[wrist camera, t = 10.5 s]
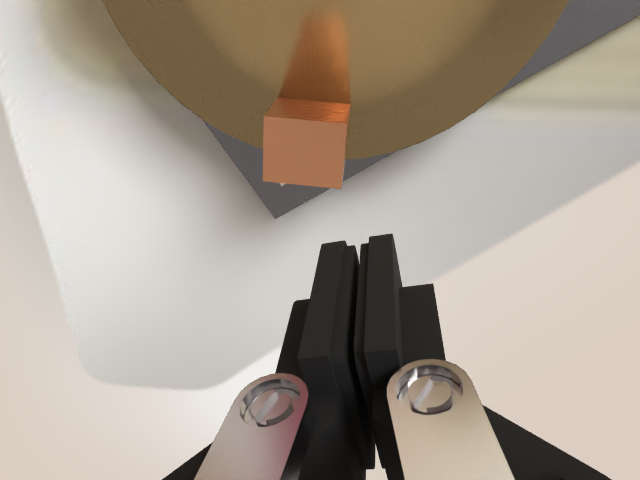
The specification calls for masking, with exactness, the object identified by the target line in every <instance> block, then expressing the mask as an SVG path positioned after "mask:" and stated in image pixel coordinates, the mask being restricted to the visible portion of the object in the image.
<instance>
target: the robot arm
mask: <svg viewBox="0 0 640 480" xmlns="http://www.w3.org/2000/svg"><path fill="white" fill-rule="evenodd" d="M375 443H376V447H377V451H378V455H379V459H380V463H381V466H382V468H385V470H386V474H387V478H388V480H611V479H609V478H608V477H607V476H605V475H604V474H602V473H600V472H598V471H597V470H595V469H593V468H591V467H590V466H588V465H586V464H585V463H583V462H581V461H579V460H578V459H576V458H574V457H572V456H571V455H569V454H567V453H565V452H563V451H562V450H560V449H558V448H557V447H555V446H553V445H551V444H550V443H548V442H546V441H544V440H543V439H541V438H539V437H537V436H536V435H534V434H532V433H531V432H529V431H527V430H525V429H523V428H522V427H520V426H518V425H517V424H515V423H513V422H511V421H510V420H508V419H506V418H504V417H503V416H501V415H499V414H497V413H496V412H493V411H492V410H490V409H489V408H487V407H485V406H483V405H482V404H481V401H480V399H479V397H478V395H477V392H476V390H475V388H474V385H473V383H472V381H471V379H470V378H469V376H468V375H467V373H466V372H465V371H464V370H462V369H461V368H460V367H459V366H457V365H456V364H453V363H450V362H448V361H446V359H445V354H444V347H443V341H442V335H441V329H440V323H439V317H438V311H437V305H436V298H435V293H434V286H433V284H425V285H417V286H409V287H402V282H401V276H400V271H399V265H398V260H397V254H396V249H395V243H394V238H393V234H386V235H379V236H372V237H369V243H366V244H361V251H360V265H359V260H358V256H357V251H356V248H355V245H352V246H347V244H346V242H345V241H338V242H331V243H325V244H322V245H321V249H320V254H319V259H318V264H317V268H316V273H315V278H314V282H313V287H312V292H311V296H310V299H305V300H297V301H295V302H294V304H293V307H292V311H291V315H290V319H289V323H288V326H287V330H286V334H285V338H284V342H283V346H282V350H281V353H280V357H279V361H278V365H277V369H276V373H275V374H270V375H267V376H264V377H261V378H259V379H257V380H255V381H253V382H252V383H250V384H249V385H247V386H246V387H245V388H244V389H243V390H242V391H241V392H240V393H239V395H238V396H237V397H236V399H235V400H234V402H233V404H232V406H231V408H230V410H229V412H228V414H227V416H226V418H225V420H224V422H223V424H222V426H221V428H220V430H219V432H218V434H217V435H216V437H215V439H214V441H213V442H212V443H211V444H210V445H209V446H207V447H206V448H204V449H203V450H202V451H200V452H199V453H198V454H196V455H195V456H194V457H192V458H191V459H189V460H188V461H187V462H185V463H184V464H183V465H181V466H180V467H179V468H177V469H176V470H174V471H173V472H172V473H171V474H169V475H168V476H166V477H165V478H164V479H162V480H365V479H366V469H374V468H375Z"/></svg>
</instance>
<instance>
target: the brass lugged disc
mask: <svg viewBox="0 0 640 480" xmlns="http://www.w3.org/2000/svg"><path fill="white" fill-rule="evenodd" d="M102 1H103V3H104V5H105V7H106V8H107V10H108V12H109V14H110V16H111V18H112V19H113V21H114V23H115V25H116V27H117V29H118V30H119V32H120V33H121V35H122V36H123V38H124V39H125V40H126V42H127V43H128V45H129V46H130V48H131V49H132V51H133V52H134V54H135V55H136V56H137V58H138V59H139V60H140V61H141V62H142V64H143V65H144V66H145V67H146V68H147V69H148V71H149V72H150V73H151V74H152V75H153V76H154V78H155V79H156V80H157V81H158V82H159V83H160V84H161V85H162V86H163V87H164V88H165V89H166V90H167V91H168V92H169V93H170V94H172V95H173V96H174V97H175V98H176V99H177V100H178V101H179V102H180V103H181V104H183V105H184V106H185V107H187V108H188V109H189V110H191V111H192V112H193V113H195V114H196V115H197V116H199V117H200V118H201V119H203V120H204V121H205V122H207V123H209V124H211V125H212V126H214V127H216V128H217V129H219V130H221V131H223V132H224V133H226V134H228V135H230V136H232V137H234V138H236V139H239V140H241V141H243V142H246V143H248V144H250V145H253V146H255V147H258V148H261V149H263V181H266V182H276V183H286V184H296V185H306V186H316V187H326V188H335V189H341V186H342V180H343V173H344V167H345V160H347V159H358V158H367V157H372V156H377V155H381V154H386V153H390V152H395V151H397V150H400V149H403V148H406V147H409V146H412V145H415V144H417V143H420V142H423V141H425V140H427V139H429V138H431V137H433V136H435V135H437V134H439V133H441V132H443V131H445V130H447V129H449V128H451V127H452V126H454V125H455V124H457V123H458V122H460V121H461V120H463V119H464V118H466V117H467V116H469V115H470V114H472V113H474V112H475V111H476V110H478V109H479V108H480V107H481V106H482V105H484V104H485V103H486V102H487V101H488V100H490V99H491V98H492V97H493V96H495V95H496V94H497V93H498V92H499V91H501V90H502V89H503V88H504V87H505V86H506V84H507V83H508V82H509V81H510V80H511V79H512V78H513V77H514V76H515V75H516V74H517V73H518V72H519V71H520V70H521V69H522V68H523V67H524V66H525V65H526V63H527V62H528V61H529V60H530V58H531V57H532V56H533V54H534V53H535V52H536V50H537V49H538V48H539V47H540V45H541V44H542V43H543V41H544V40H545V39H546V37H547V36H548V35H549V33H550V31H551V30H552V28H553V27H554V25H555V23H556V22H557V20H558V18H559V17H560V15H561V13H562V12H563V10H564V8H565V7H566V5H567V4H568V2H569V0H102Z"/></svg>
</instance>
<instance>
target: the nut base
mask: <svg viewBox="0 0 640 480" xmlns="http://www.w3.org/2000/svg"><path fill="white" fill-rule="evenodd" d="M638 15H640V0H569V2H568V4H567V5H566V7H565V8H564V10H563V12H562V13H561V15H560V17H559V18H558V20H557V22H556V23H555V25H554V27H553V28H552V30H551V31H550V33H549V35H548V36H547V37H546V39H545V40H544V41H543V43H542V44H541V45H540V47H539V48H538V49H537V50H536V52H535V53H534V54H533V56H532V57H531V58H530V60H529V61H528V62H527V63H526V65H525V66H524V67H523V68H522V69H521V70H520V71H519V72H518V73H517V74H516V75H515V76H514V77H513V78H512V79H511V80H510V81H509V82H508V83H507V84H506V86H505V87H504V88H503V89H502V90H501V91H499V92H498V93H497V94H499V93H501V92H503V91H505V90H506V89H508V88H510V87H512V86H514V85H515V84H517V83H519V82H521V81H522V80H524V79H526V78H528V77H530V76H531V75H533V74H535V73H537V72H539V71H540V70H542V69H544V68H546V67H547V66H549V65H551V64H553V63H555V62H556V61H558V60H560V59H562V58H564V57H565V56H567V55H569V54H571V53H572V52H574V51H576V50H578V49H580V48H581V47H583V46H585V45H587V44H589V43H590V42H592V41H594V40H596V39H597V38H599V37H601V36H603V35H605V34H606V33H608V32H610V31H612V30H614V29H615V28H617V27H619V26H621V25H622V24H624V23H626V22H628V21H630V20H631V19H633V18H635V17H637V16H638ZM497 94H496V95H497ZM496 95H495V96H496ZM493 97H494V96H493ZM203 121H204V120H203ZM204 122H205V121H204ZM205 123H206V125H207V126H208V128H209V129H210V130H211V132H212V133H213V134H214V136H215V137H216V138H217V140H218V141H219V142H220V144H221V145H222V147H223V148H224V149H225V151H226V152H227V153H228V155H229V156H230V157H231V159H232V160H233V161H234V163H235V164H236V166H237V167H238V168H239V170H240V171H241V172H242V174H243V175H244V176H245V178H246V179H247V180H248V182H249V183H250V185H251V186H252V187H253V189H254V190H255V191H256V193H257V194H258V195H259V197H260V198H261V200H262V201H263V202H264V204H265V205H266V206H267V208H268V209H269V210H270V212H271V213H272V214H273V216H274V217H275V219H276V218H278V217H280V216H281V215H283V214H285V213H287V212H289V211H290V210H292V209H294V208H296V207H298V206H299V205H301V204H303V203H305V202H306V201H308V200H310V199H312V198H314V197H315V196H317V195H319V194H321V193H323V192H324V191H326V190H328V189H330V188H326V187H316V186H306V185H296V184H286V183H276V182H266V181H263V149H261V148H258V147H255V146H253V145H250V144H248V143H246V142H243V141H241V140H239V139H236V138H234V137H232V136H230V135H228V134H226V133H224V132H223V131H221V130H219V129H217V128H216V127H214V126H212V125H211V124H209V123H207V122H205ZM395 152H396V151H395ZM392 153H394V152H390V153H386V154H381V155H377V156H372V157H367V158H358V159H347V160H345V167H344V173H343V180H342V181H344V180H346V179H348V178H349V177H351V176H353V175H355V174H356V173H358V172H360V171H362V170H364V169H365V168H367V167H369V166H371V165H373V164H374V163H376V162H378V161H380V160H381V159H383V158H385V157H387V156H389V155H390V154H392Z"/></svg>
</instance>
